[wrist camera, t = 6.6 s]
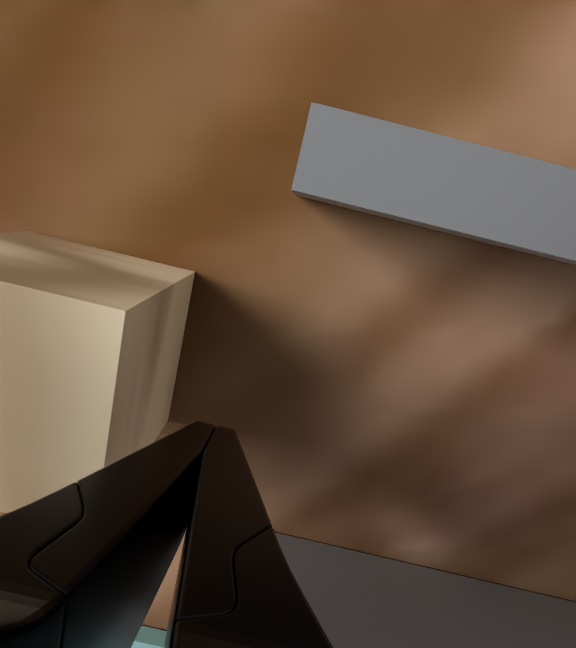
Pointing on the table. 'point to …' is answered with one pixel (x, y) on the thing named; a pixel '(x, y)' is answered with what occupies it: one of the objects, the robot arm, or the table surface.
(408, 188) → the grey u-shaped frame
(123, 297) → the wooden block
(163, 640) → the mat
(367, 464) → the table surface
